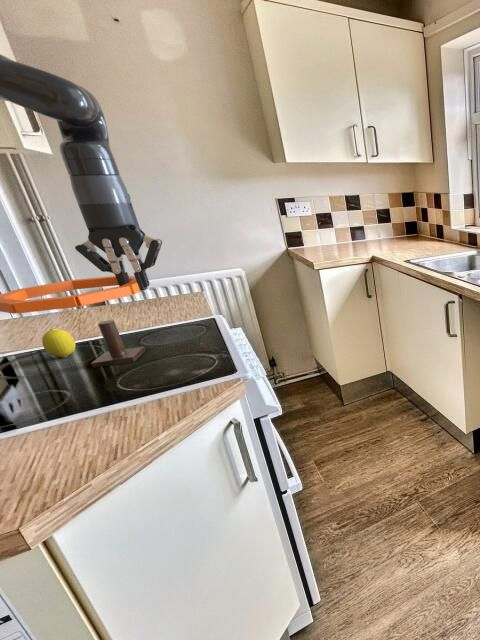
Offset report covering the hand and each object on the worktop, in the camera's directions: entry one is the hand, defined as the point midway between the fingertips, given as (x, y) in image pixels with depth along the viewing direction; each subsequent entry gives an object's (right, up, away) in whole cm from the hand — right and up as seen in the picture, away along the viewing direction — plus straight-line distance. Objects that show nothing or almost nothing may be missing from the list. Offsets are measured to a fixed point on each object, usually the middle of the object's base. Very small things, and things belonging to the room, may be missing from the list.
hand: (136, 290), depth 86 cm
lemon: (-38, -15, +22) cm, 46 cm away
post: (-21, -15, +20) cm, 33 cm away
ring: (-9, -2, -3) cm, 10 cm away
